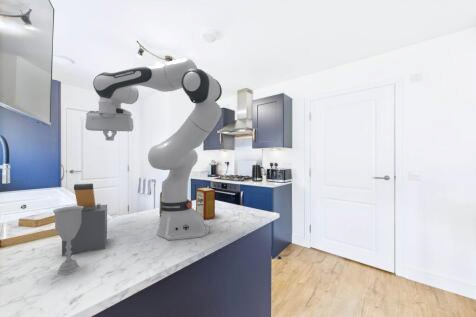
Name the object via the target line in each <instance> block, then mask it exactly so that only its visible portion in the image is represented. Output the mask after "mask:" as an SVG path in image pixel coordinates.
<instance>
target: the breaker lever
mask: <svg viewBox="0 0 476 317" xmlns="http://www.w3.org/2000/svg"><path fill="white" fill-rule="evenodd" d="M73 191H74V195H75V200H76V206H83V209H87V208H95V207H96V205H97V204H96V200H95V190H94V184H93V183H75V184H73Z"/></svg>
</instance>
